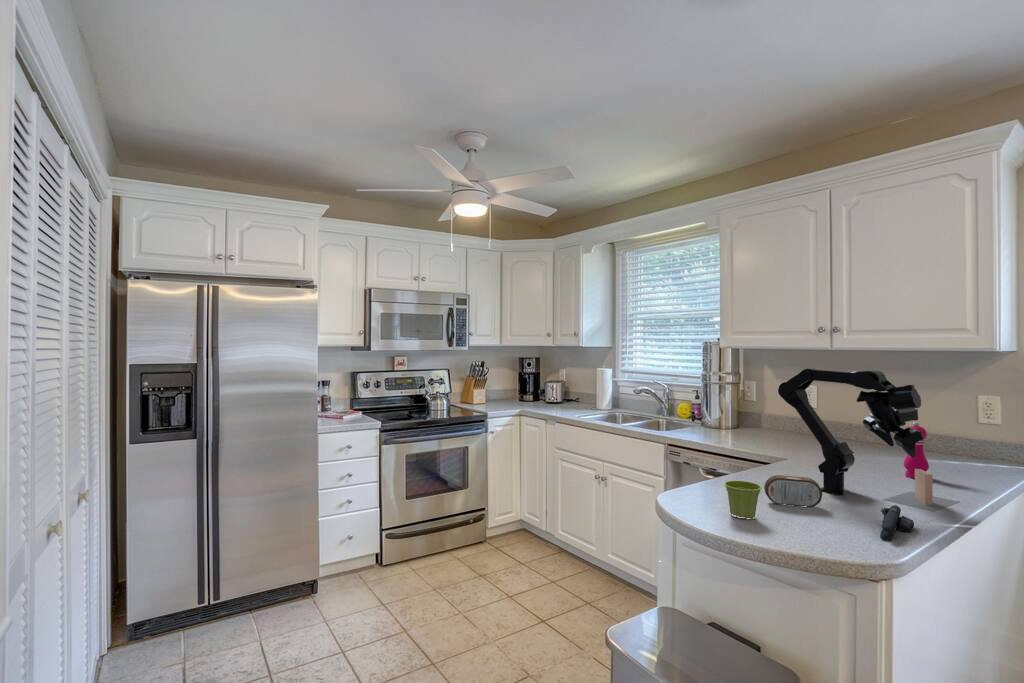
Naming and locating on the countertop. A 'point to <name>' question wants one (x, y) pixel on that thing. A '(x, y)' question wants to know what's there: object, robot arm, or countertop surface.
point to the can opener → (894, 522)
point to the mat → (910, 500)
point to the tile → (923, 487)
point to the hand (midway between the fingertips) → (902, 451)
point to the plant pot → (743, 497)
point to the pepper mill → (920, 458)
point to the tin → (793, 491)
